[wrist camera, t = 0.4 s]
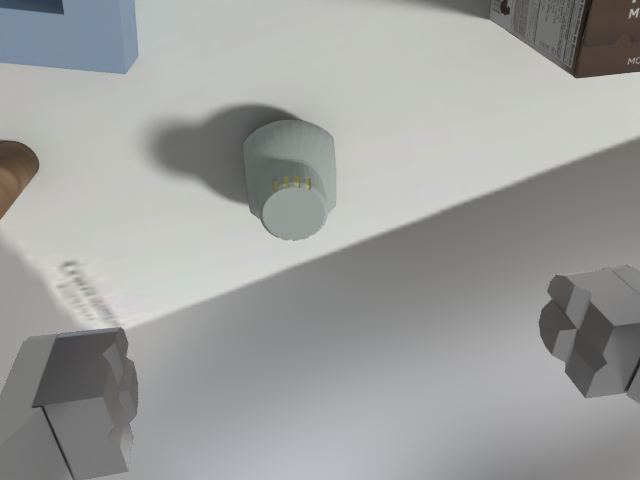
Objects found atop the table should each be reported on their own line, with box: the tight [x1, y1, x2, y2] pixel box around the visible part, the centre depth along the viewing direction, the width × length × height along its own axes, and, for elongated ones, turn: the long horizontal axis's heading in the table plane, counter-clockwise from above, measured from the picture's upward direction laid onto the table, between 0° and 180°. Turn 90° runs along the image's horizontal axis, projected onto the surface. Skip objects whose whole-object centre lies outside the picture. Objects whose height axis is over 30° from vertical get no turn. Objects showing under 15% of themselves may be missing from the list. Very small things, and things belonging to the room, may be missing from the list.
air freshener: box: [243, 119, 336, 241], centre depth 48 cm, size 11×8×10 cm
